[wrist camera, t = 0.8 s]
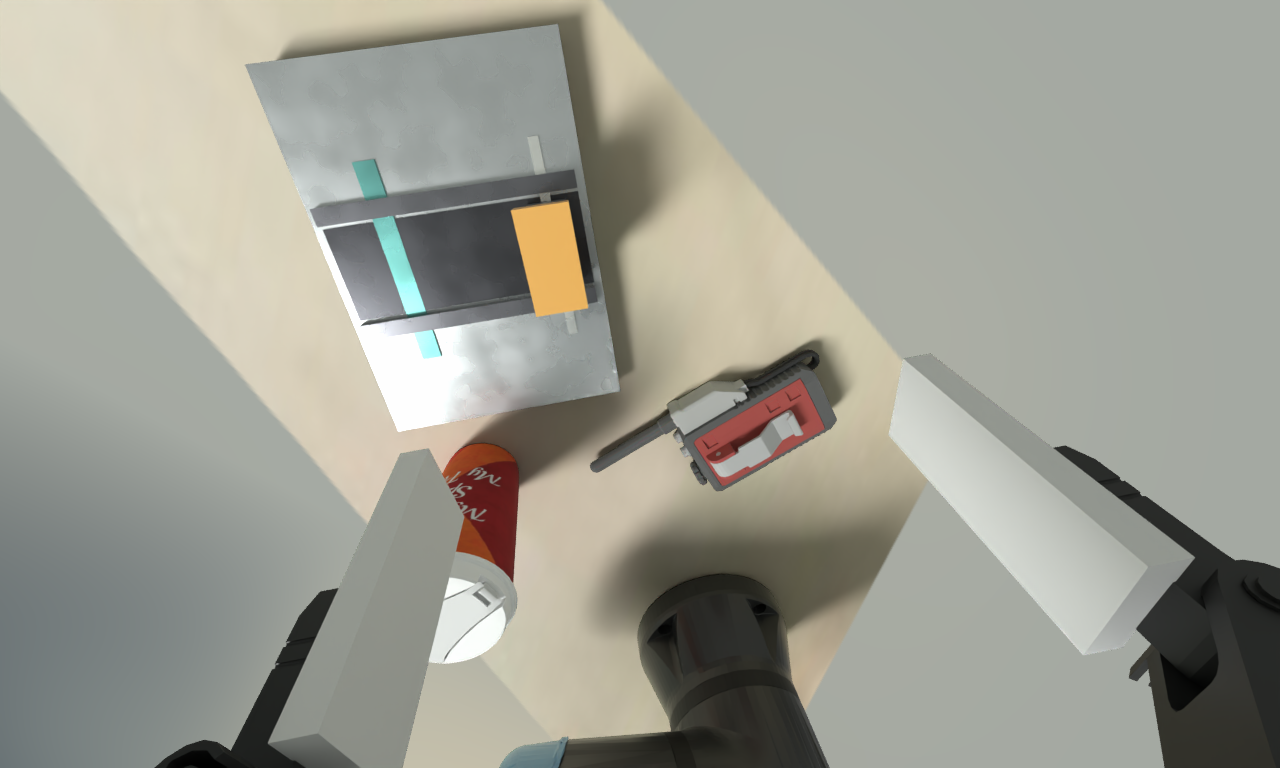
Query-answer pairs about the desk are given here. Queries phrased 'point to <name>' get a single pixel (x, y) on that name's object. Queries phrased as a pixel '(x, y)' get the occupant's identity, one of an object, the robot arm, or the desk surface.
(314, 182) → the console board
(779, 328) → the desk surface
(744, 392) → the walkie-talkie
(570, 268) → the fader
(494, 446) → the paper cup
